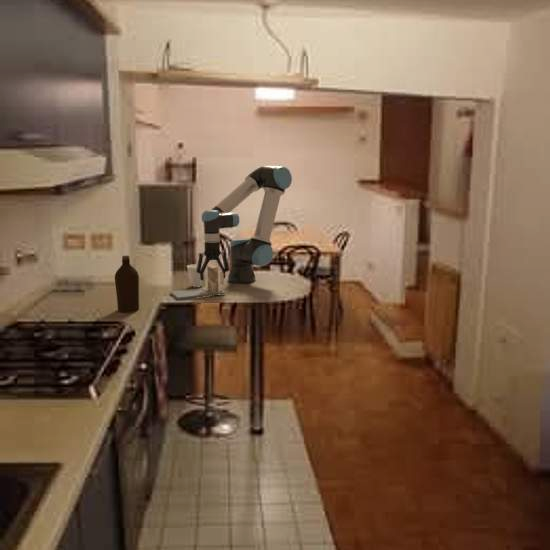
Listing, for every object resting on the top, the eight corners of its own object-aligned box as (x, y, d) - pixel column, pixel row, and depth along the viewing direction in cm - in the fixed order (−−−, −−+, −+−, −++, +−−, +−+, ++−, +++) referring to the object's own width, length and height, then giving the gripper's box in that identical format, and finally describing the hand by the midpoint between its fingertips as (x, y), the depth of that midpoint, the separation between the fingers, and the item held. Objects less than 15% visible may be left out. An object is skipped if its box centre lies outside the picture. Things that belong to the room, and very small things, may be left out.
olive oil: (137, 313, 277) (134, 258, 272) (113, 313, 277) (110, 258, 272) (142, 307, 287) (140, 254, 282) (120, 306, 288) (117, 253, 282)
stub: (216, 289, 321) (215, 264, 319) (225, 294, 309) (224, 269, 306) (201, 290, 318) (200, 265, 315) (209, 296, 306) (209, 270, 303)
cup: (207, 284, 333) (207, 264, 330) (203, 288, 323) (203, 268, 321) (189, 284, 334) (189, 264, 331) (185, 288, 324) (184, 267, 322)
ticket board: (201, 290, 318) (200, 287, 318) (209, 297, 306) (209, 293, 305) (170, 294, 312) (170, 290, 311) (177, 300, 299) (177, 297, 299)
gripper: (230, 239, 316) (230, 282, 320) (188, 241, 307) (190, 285, 312) (235, 241, 309) (235, 285, 314) (193, 243, 300) (194, 289, 305)
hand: (213, 285), depth 313 cm, fingers open, 9 cm apart
